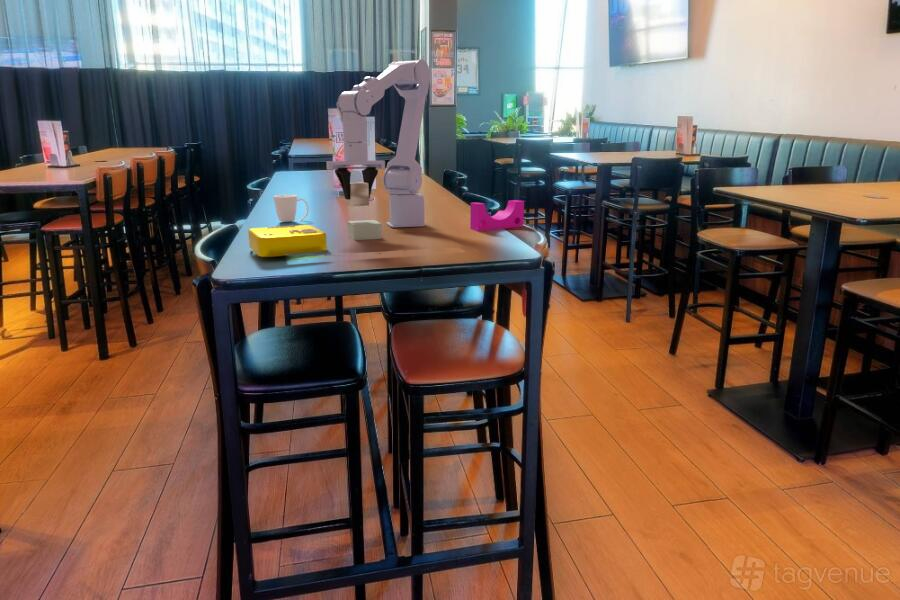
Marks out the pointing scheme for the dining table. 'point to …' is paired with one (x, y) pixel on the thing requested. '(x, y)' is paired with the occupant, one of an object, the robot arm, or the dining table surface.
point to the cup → (287, 207)
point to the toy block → (497, 216)
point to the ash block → (358, 194)
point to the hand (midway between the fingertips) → (357, 198)
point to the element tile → (286, 240)
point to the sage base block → (364, 229)
